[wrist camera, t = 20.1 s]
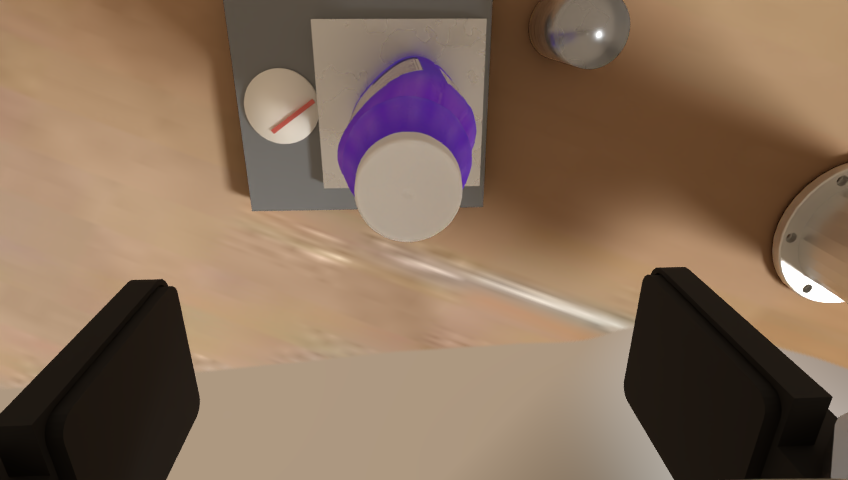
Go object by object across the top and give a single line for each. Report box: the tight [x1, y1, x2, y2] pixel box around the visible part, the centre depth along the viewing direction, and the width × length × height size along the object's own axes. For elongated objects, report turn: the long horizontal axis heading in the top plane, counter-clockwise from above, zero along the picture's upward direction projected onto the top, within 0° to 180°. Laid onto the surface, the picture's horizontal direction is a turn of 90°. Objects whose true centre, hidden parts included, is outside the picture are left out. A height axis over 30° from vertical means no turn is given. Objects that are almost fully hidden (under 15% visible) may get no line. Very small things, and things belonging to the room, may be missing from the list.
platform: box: [311, 18, 487, 188], centre depth 36 cm, size 11×11×1 cm
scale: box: [223, 0, 493, 211], centre depth 37 cm, size 17×15×3 cm
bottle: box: [337, 56, 477, 242], centre depth 28 cm, size 7×6×17 cm
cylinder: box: [529, 0, 630, 69], centre depth 34 cm, size 4×4×6 cm
